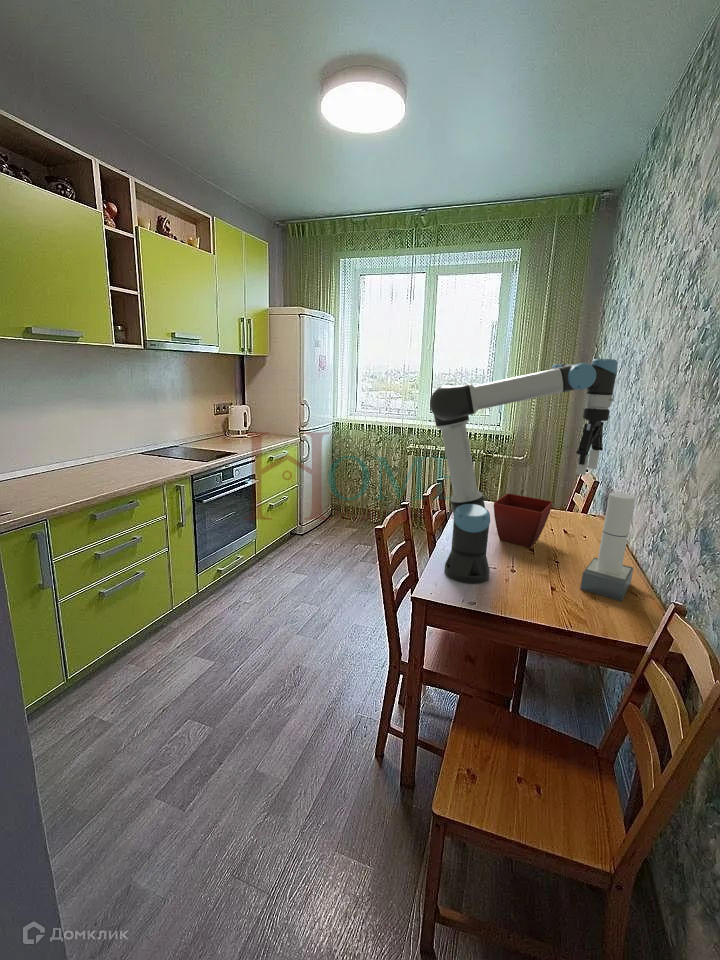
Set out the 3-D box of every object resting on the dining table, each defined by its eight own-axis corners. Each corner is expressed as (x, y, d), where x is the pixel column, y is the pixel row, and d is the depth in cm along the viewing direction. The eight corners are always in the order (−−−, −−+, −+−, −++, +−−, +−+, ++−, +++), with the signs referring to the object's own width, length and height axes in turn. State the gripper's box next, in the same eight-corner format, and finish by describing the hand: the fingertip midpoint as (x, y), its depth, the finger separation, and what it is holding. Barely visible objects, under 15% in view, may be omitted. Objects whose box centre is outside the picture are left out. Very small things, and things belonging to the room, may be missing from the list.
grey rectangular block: (621, 601, 137) (625, 582, 136) (580, 589, 145) (583, 571, 143) (630, 584, 149) (633, 566, 148) (591, 573, 157) (594, 556, 155)
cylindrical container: (599, 571, 143) (613, 497, 137) (594, 562, 150) (606, 491, 144) (624, 574, 141) (638, 499, 135) (617, 565, 148) (630, 493, 142)
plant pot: (536, 553, 173) (542, 512, 169) (488, 541, 184) (492, 502, 180) (548, 539, 189) (553, 501, 185) (503, 529, 199) (507, 493, 195)
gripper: (599, 410, 133) (588, 478, 138) (618, 407, 152) (607, 468, 157) (573, 408, 138) (563, 474, 143) (594, 405, 156) (585, 464, 161)
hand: (586, 471), depth 150 cm, fingers open, 13 cm apart
